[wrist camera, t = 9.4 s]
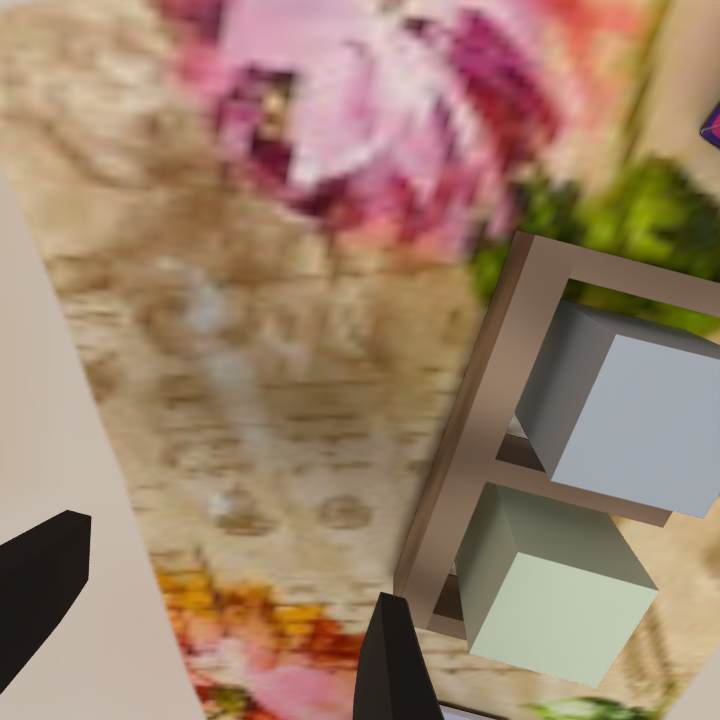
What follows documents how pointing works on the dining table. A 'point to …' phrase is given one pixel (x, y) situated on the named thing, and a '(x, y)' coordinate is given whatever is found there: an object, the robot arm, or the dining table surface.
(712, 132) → the supplement box
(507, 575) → the sage block
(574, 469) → the slate block
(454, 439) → the comb rack
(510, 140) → the dining table surface
